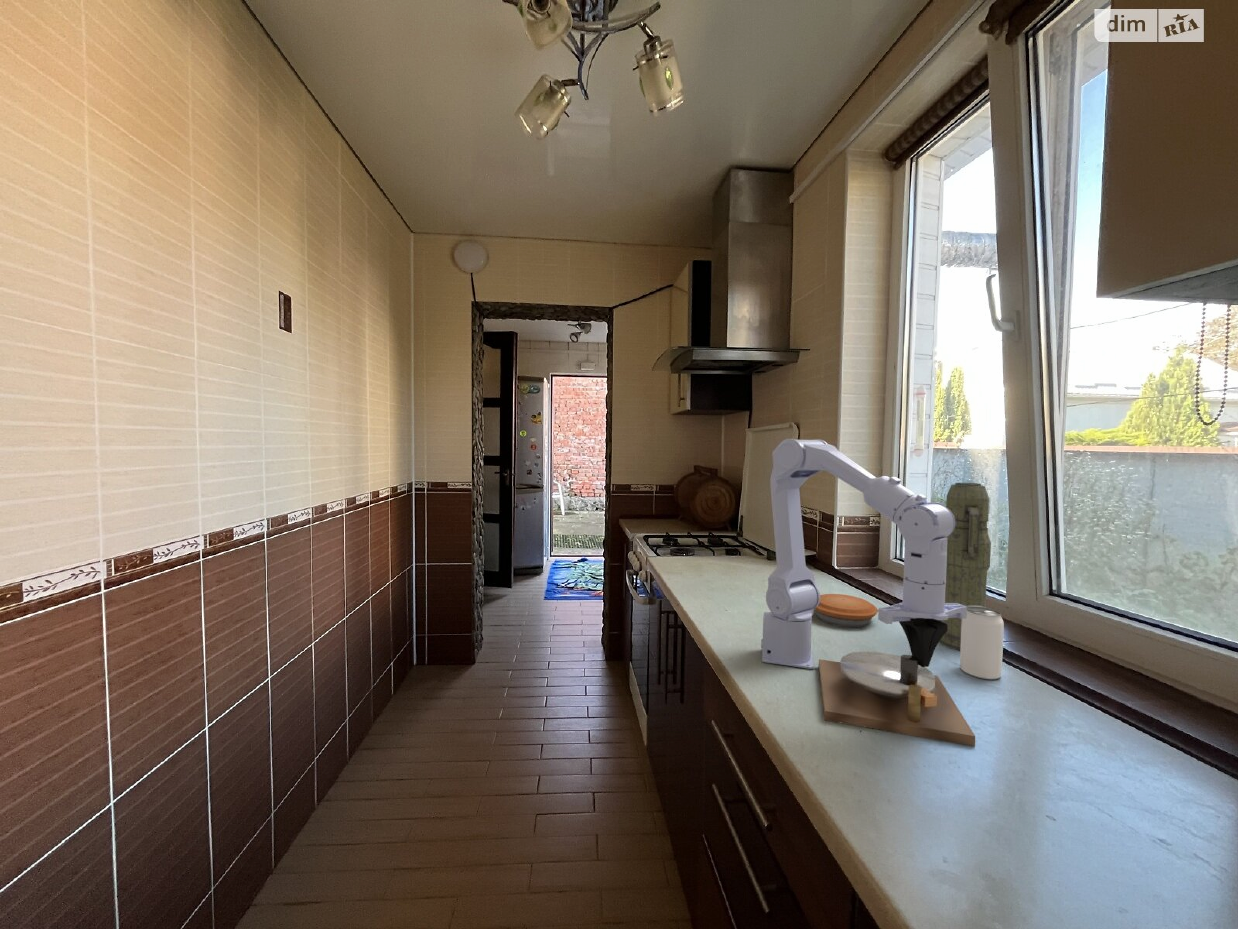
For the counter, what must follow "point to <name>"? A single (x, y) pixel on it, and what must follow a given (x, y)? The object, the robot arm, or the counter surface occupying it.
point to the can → (982, 643)
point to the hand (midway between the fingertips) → (920, 664)
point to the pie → (845, 610)
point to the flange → (889, 675)
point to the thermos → (966, 553)
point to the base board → (892, 709)
